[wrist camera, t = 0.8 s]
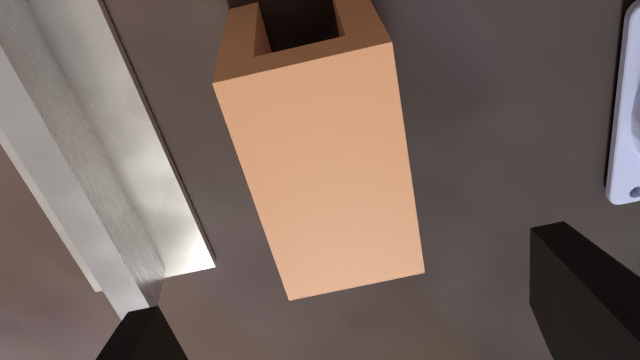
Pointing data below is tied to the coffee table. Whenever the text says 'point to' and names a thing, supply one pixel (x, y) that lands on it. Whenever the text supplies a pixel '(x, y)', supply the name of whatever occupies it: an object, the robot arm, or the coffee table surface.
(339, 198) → the clip
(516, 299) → the coffee table surface
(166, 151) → the rail
